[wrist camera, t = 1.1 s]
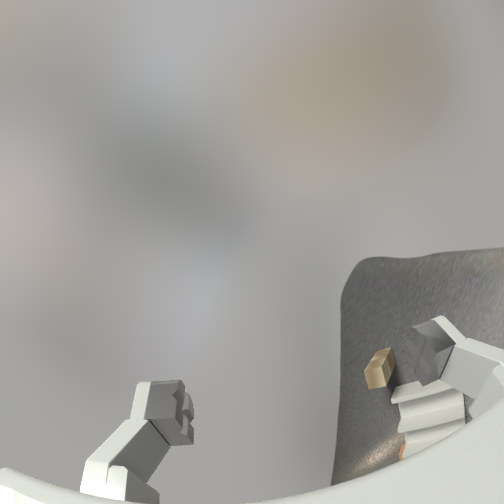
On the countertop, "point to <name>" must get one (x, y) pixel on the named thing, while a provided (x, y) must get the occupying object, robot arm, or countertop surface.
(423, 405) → the rack
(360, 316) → the countertop surface
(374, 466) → the countertop surface
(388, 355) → the block
